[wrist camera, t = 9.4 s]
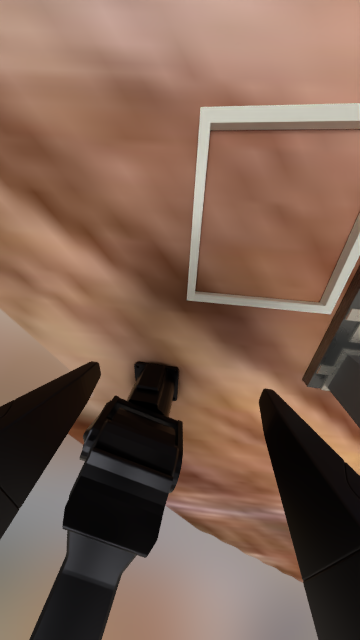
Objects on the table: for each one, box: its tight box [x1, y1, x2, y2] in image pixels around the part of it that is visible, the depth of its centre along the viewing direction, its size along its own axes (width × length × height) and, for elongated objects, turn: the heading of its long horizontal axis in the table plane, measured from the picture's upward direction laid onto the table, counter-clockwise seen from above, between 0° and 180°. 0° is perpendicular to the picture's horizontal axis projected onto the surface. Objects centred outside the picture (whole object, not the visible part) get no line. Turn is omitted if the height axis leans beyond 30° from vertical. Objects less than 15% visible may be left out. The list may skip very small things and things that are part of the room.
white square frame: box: [187, 103, 360, 314], centre depth 15 cm, size 15×15×1 cm
